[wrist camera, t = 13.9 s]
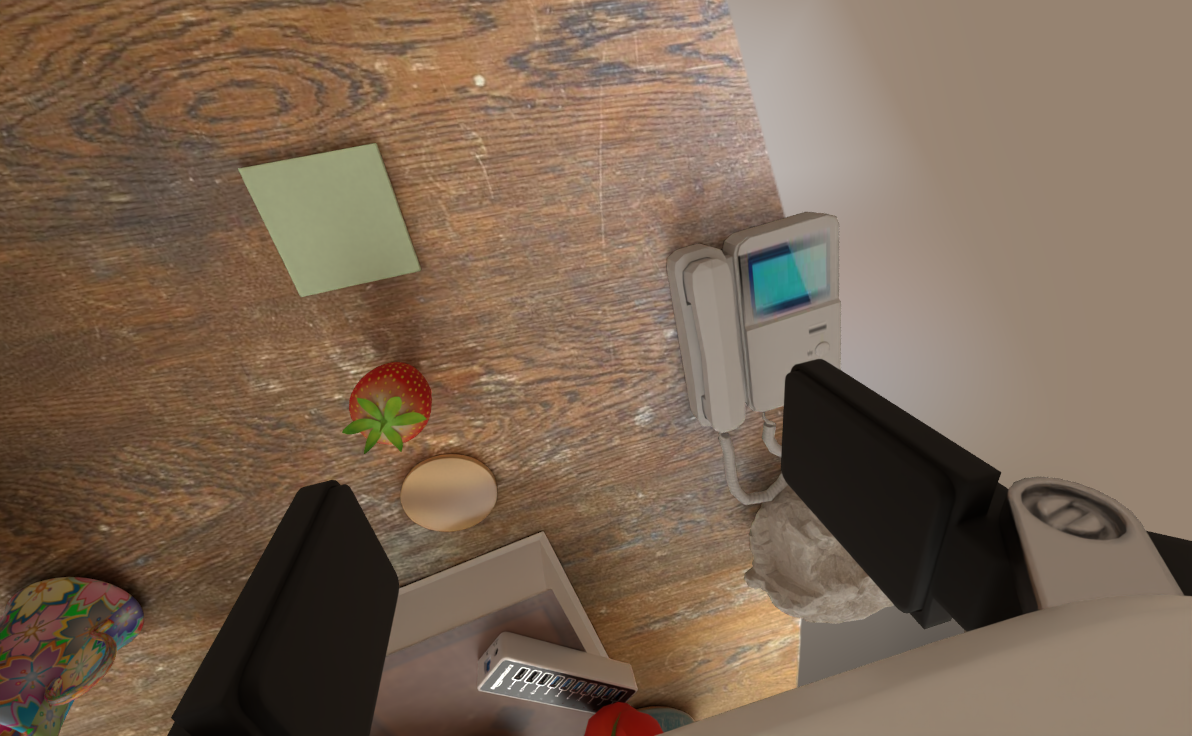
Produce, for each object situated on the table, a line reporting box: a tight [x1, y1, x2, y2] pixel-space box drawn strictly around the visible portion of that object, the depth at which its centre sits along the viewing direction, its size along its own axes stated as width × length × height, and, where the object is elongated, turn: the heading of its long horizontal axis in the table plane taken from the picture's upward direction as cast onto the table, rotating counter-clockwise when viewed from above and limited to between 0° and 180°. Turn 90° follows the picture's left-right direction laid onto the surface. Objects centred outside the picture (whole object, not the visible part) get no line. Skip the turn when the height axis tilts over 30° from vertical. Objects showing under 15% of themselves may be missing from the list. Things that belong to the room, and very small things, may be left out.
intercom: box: [666, 212, 841, 505], centre depth 39 cm, size 13×4×25 cm
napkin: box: [238, 143, 421, 297], centre depth 29 cm, size 8×8×1 cm
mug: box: [0, 577, 144, 736], centre depth 32 cm, size 12×9×11 cm
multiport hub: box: [477, 632, 638, 713], centre depth 41 cm, size 4×14×2 cm, turn 54°
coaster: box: [400, 454, 498, 532], centre depth 39 cm, size 8×8×1 cm
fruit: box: [342, 362, 432, 454], centre depth 31 cm, size 5×5×8 cm
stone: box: [744, 485, 894, 624], centre depth 45 cm, size 17×17×15 cm
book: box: [370, 531, 609, 736], centre depth 46 cm, size 24×28×6 cm
